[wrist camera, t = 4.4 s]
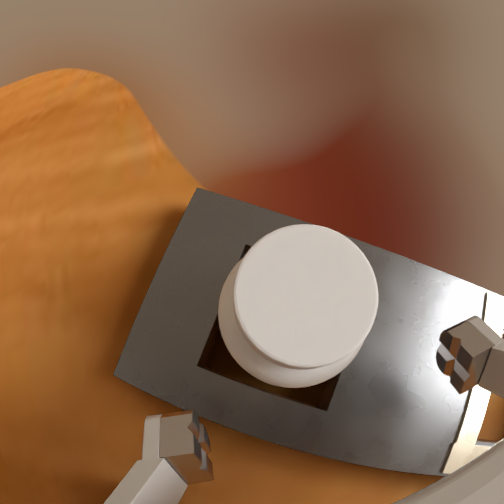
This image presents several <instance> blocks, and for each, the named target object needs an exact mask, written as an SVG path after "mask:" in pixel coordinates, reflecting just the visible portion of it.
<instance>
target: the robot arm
mask: <svg viewBox="0 0 504 504" xmlns="http://www.w3.org/2000/svg"><path fill="white" fill-rule="evenodd" d="M439 341H440V342H441V344H440V346H439V347H438V349H437V352H436V362H437V365H438V368H439V370H440V371H441V372H442V373H443V374H444V375H447V376H450V383H451V384H452V386H453V387H454V388H455V389H456V391H457V392H458V393H459V394H462V393H464V392H466V391H468V390H469V389H471V388H473V387H475V386H477V385H478V386H479V387H481V388H483V389H485V390H487V391H489V392H491V393H494V394H496V395H498V396H500V397H502V398H504V339H503V338H502V337H501V336H500V335H499V334H497V333H496V332H495V331H494V330H493V329H492V328H491V327H490V326H489V325H487V324H486V323H485V322H484V321H483V320H482V319H481V318H480V317H478V316H475V315H474V316H472V317H470V318H468V319H466V320H464V321H462V322H460V323H458V324H456V325H454V326H452V327H450V328H448V329H446V330H444V331H442V333H441V334H440V337H439ZM210 451H211V449H210V442H209V437H208V434H207V431H206V429H205V427H204V425H203V424H202V423H199V416H198V414H197V412H196V411H195V410H188V411H181V412H174V413H166V414H159V415H151V416H147V417H146V419H145V422H144V434H143V448H142V460H137V461H136V463H135V464H134V465H133V467H132V468H131V469H130V470H129V472H128V473H127V474H126V476H125V477H124V478H123V479H122V481H121V482H120V483H119V485H118V486H117V487H116V488H115V490H114V491H113V492H112V493H111V495H110V496H109V497H108V499H107V500H106V501H105V502H104V504H178V503H179V501H180V500H181V498H182V496H183V494H184V492H185V490H186V488H187V486H188V485H187V484H192V483H198V482H205V481H211V480H214V477H213V467H212V462H211V460H210V459H209V457H208V454H209V453H210ZM392 504H504V438H503V439H502V440H501V441H499V442H498V443H496V444H495V445H494V446H492V447H491V448H489V449H488V450H487V451H485V452H484V453H482V454H481V455H479V456H478V457H476V458H475V459H473V460H472V461H470V462H469V463H467V464H466V465H464V466H462V467H461V468H459V469H457V470H456V471H454V472H452V473H451V474H449V475H447V476H446V477H444V478H442V479H440V480H438V481H437V482H435V483H433V484H431V485H429V486H427V487H425V488H424V489H422V490H420V491H418V492H416V493H414V494H412V495H410V496H407V497H405V498H403V499H401V500H399V501H397V502H394V503H392Z"/></svg>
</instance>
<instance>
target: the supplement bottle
mask: <svg viewBox="0 0 504 504" xmlns="http://www.w3.org/2000/svg"><path fill="white" fill-rule="evenodd" d="M377 308H378V286H377V282H376V278H375V274H374V272H373V269H372V267H371V265H370V263H369V261H368V260H367V258H366V256H365V255H364V253H363V252H362V251H361V250H360V249H359V248H358V247H357V246H356V245H355V244H354V243H353V242H352V241H351V240H350V239H348V238H347V237H345V236H344V235H342V234H340V233H338V232H336V231H334V230H332V229H329V228H326V227H322V226H317V225H311V224H298V225H290V226H286V227H283V228H279V229H277V230H275V231H273V232H271V233H269V234H267V235H265V236H264V237H262V238H261V239H260V240H258V241H257V242H256V243H255V244H254V245H253V246H252V247H251V248H250V249H249V250H248V252H247V253H246V254H245V256H244V257H243V258H242V259H241V260H240V261H239V262H238V263H237V264H236V265H235V266H234V268H233V269H232V271H231V272H230V274H229V275H228V277H227V279H226V281H225V283H224V285H223V288H222V291H221V294H220V299H219V307H218V319H219V327H220V331H221V335H222V338H223V340H224V343H225V345H226V347H227V349H228V351H229V352H230V354H231V355H232V357H233V358H234V359H235V361H236V362H237V363H238V364H239V365H240V366H241V367H242V368H243V369H244V370H245V371H247V372H248V373H249V374H251V375H252V376H254V377H256V378H257V379H259V380H261V381H263V382H265V383H268V384H270V385H274V386H278V387H284V388H302V387H309V386H313V385H316V384H319V383H322V382H324V381H326V380H328V379H330V378H332V377H334V376H336V375H337V374H338V373H340V372H341V371H342V370H343V369H345V368H346V367H347V366H348V365H349V364H350V363H351V362H352V360H353V359H354V358H355V356H356V355H357V354H358V352H359V350H360V348H361V347H362V345H363V342H364V340H365V338H366V336H367V335H368V333H369V332H370V330H371V328H372V325H373V323H374V320H375V317H376V313H377Z"/></svg>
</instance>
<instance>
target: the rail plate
mask: <svg viewBox="0 0 504 504" xmlns="http://www.w3.org/2000/svg"><path fill="white" fill-rule="evenodd" d="M298 224H310V223H307V222H304V221H301V220H298V219H295V218H292V217H289V216H286V215H283V214H280V213H277V212H274V211H271V210H268V209H265V208H262V207H258V206H256V205H252V204H249V203H246V202H243V201H240V200H236V199H233V198H230V197H227V196H223V195H220V194H217V193H213V192H210V191H207V190H204V189H200V188H197V189H196V191H195V193H194V195H193V197H192V199H191V201H190V203H189V205H188V207H187V209H186V211H185V213H184V215H183V217H182V219H181V221H180V223H179V225H178V227H177V229H176V231H175V233H174V235H173V237H172V239H171V241H170V243H169V245H168V248H167V250H166V252H165V254H164V256H163V258H162V260H161V262H160V265H159V267H158V269H157V271H156V273H155V276H154V278H153V280H152V282H151V285H150V287H149V289H148V291H147V294H146V296H145V298H144V300H143V303H142V305H141V307H140V310H139V312H138V314H137V317H136V319H135V322H134V324H133V326H132V329H131V331H130V334H129V336H128V338H127V341H126V343H125V346H124V348H123V351H122V353H121V356H120V359H119V361H118V364H117V366H116V369H115V371H114V374H113V375H114V376H116V377H118V378H120V379H121V380H123V381H125V382H127V383H129V384H131V385H133V386H135V387H137V388H139V389H141V390H143V391H145V392H147V393H149V394H151V395H153V396H155V397H157V398H159V399H161V400H163V401H166V402H168V403H170V404H172V405H174V406H177V407H179V408H181V409H183V410H186V411H188V410H195V411H196V412H197V414H198V416H200V417H202V418H205V419H207V420H210V421H212V422H215V423H217V424H220V425H223V426H225V427H228V428H231V429H233V430H236V431H239V432H242V433H245V434H247V435H250V436H253V437H256V438H259V439H262V440H265V441H269V442H272V443H275V444H278V445H282V446H285V447H288V448H292V449H295V450H299V451H303V452H306V453H310V454H314V455H318V456H322V457H326V458H330V459H335V460H339V461H344V462H348V463H353V464H358V465H364V466H369V467H375V468H381V469H387V470H393V471H401V472H408V473H417V474H426V475H437V476H447V475H449V474H451V473H452V472H454V471H456V470H457V469H459V468H461V467H462V466H464V465H466V464H467V463H469V462H470V461H472V460H473V459H475V458H476V457H478V456H479V455H481V454H482V453H484V452H485V451H487V450H488V449H489V448H491V447H492V446H494V445H495V444H496V443H498V442H499V441H493V440H484V439H477V437H478V434H479V431H480V428H481V425H482V422H483V418H484V415H485V411H486V408H487V404H488V400H489V397H490V393H491V392H489V391H487V390H485V389H483V388H481V387H479V386H478V385H477V386H475V387H473V388H471V389H469V390H468V391H466V392H464V393H462V394H459V393H458V392H457V391H456V389H455V388H454V387H453V386H452V384H451V383H450V376H447V375H444V374H443V373H442V372H441V371H440V370H439V368H438V365H437V362H436V352H437V349H438V347H439V346H440V344H441V342H440V341H439V337H440V334H441V333H442V331H444V330H446V329H448V328H450V327H452V326H454V325H456V324H458V323H460V322H462V321H464V320H466V319H468V318H470V317H472V316H474V315H475V316H478V317H480V318H481V319H482V320H483V321H484V322H485V323H486V324H487V325H489V326H490V327H491V328H492V329H493V330H494V331H495V332H496V333H497V334H499V335H500V336H501V337H502V338H503V339H504V297H503V296H501V295H498V294H496V293H493V292H491V291H489V290H486V289H484V288H482V287H479V286H476V285H474V284H472V283H469V282H467V281H464V280H462V279H459V278H457V277H454V276H452V275H449V274H447V273H444V272H442V271H439V270H437V269H434V268H432V267H429V266H427V265H424V264H421V263H419V262H416V261H413V260H411V259H408V258H405V257H403V256H400V255H398V254H395V253H392V252H389V251H387V250H384V249H381V248H379V247H376V246H372V245H370V244H367V243H365V242H362V241H359V240H356V239H354V238H351V237H348V236H345V235H344V236H345V237H347V238H348V239H350V240H351V241H352V242H353V243H354V244H355V245H356V246H357V247H358V248H359V249H360V250H361V251H362V252H363V253H364V255H365V256H366V258H367V260H368V261H369V263H370V265H371V267H372V269H373V272H374V274H375V278H376V282H377V286H378V308H377V313H376V317H375V320H374V323H373V325H372V328H371V330H370V332H369V333H368V335H367V336H366V338H365V340H364V342H363V345H362V347H361V348H360V350H359V352H358V354H357V355H356V356H355V358H354V359H353V360H352V362H351V363H350V364H349V365H348V366H347V367H346V368H345V369H343V370H342V371H341V372H340V373H338V374H337V375H336V376H334V377H332V378H330V379H328V380H327V382H326V385H325V387H324V390H323V393H322V396H321V398H320V401H319V404H318V406H317V405H313V404H310V403H307V402H303V401H300V400H297V399H294V398H291V397H287V396H284V395H281V394H278V393H275V392H272V391H269V390H266V389H264V388H261V387H258V386H255V385H252V384H249V383H247V382H244V381H241V380H238V379H236V378H233V377H230V376H228V375H225V374H223V373H220V372H218V371H215V370H213V369H210V368H208V367H205V365H206V363H207V360H208V358H209V355H210V353H211V350H212V348H213V345H214V342H215V340H216V337H217V335H218V332H219V330H220V327H219V319H218V307H219V299H220V294H221V291H222V288H223V285H224V283H225V281H226V279H227V277H228V275H229V274H230V272H231V271H232V269H233V268H234V266H235V265H236V264H237V263H238V262H239V261H240V260H241V259H242V258H243V257H244V256H245V254H246V253H247V252H248V250H249V249H250V248H251V247H252V246H253V245H254V244H255V243H256V242H257V241H258V240H260V239H261V238H262V237H264V236H265V235H267V234H269V233H271V232H273V231H275V230H277V229H279V228H283V227H286V226H290V225H298ZM311 225H313V224H311Z"/></svg>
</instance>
